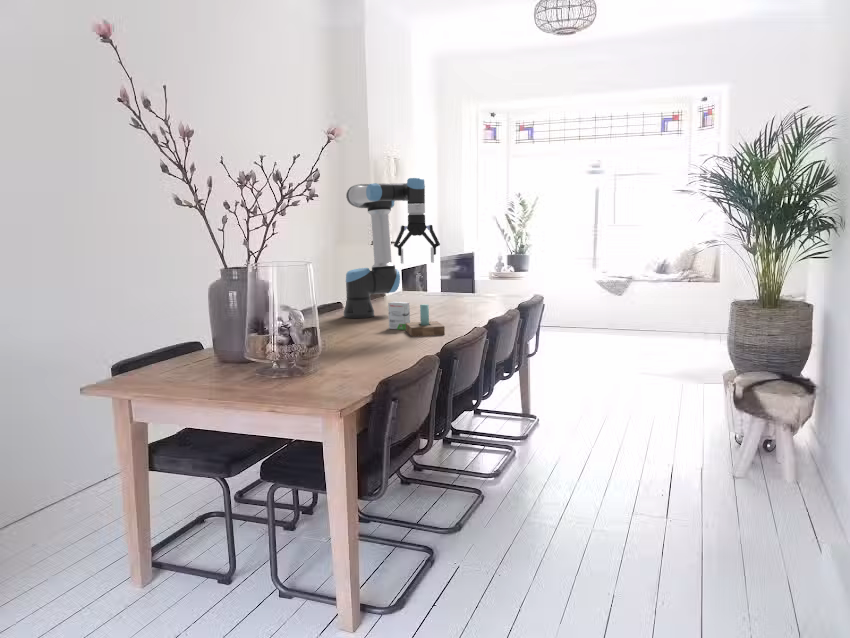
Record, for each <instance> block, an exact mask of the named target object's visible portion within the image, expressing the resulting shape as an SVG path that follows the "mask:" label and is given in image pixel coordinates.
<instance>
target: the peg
mask: <svg viewBox="0 0 850 638" xmlns="http://www.w3.org/2000/svg"><path fill="white" fill-rule="evenodd" d="M419 305H420V306H419V308H420V309H419V310H420V317H419V318H420V322H421V326H426V325H429V322H430V316H429V315H430V308H429V306H430V304H426V303H425V304H423V303H422V304H419Z"/></svg>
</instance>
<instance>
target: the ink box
mask: <svg viewBox="0 0 850 638" xmlns="http://www.w3.org/2000/svg"><path fill="white" fill-rule="evenodd" d="M387 307H388V309H387V311H388V328H389V329H390V330H401V331H402V330H404V331H406V323H411V313H410V312H411V311H410V302H408V301H407V302H405V301H391V302H388V305H387Z"/></svg>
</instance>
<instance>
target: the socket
mask: <svg viewBox="0 0 850 638" xmlns="http://www.w3.org/2000/svg"><path fill="white" fill-rule="evenodd" d="M445 328H446V327H445V326H444V325H443V324H442V323H441V322H439V321H438V320H435V321H434V320H433V321H429V325H426V326H421V321H416V322H415V321H414V322H410V323H406V330H405V332H407V334H408V335H410V337H425V336H426V337H428V336H443V335H445V331H446V329H445Z"/></svg>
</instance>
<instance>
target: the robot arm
mask: <svg viewBox="0 0 850 638" xmlns="http://www.w3.org/2000/svg"><path fill="white" fill-rule="evenodd" d="M425 187H426V184H425V179H424V178H423V177H410V178H407V180H406V182H405V183H404V182H403V183H398V182H397V183H392V182H391V183H378V182H375V183H361V184H359V183H358V184H354V185H352V186H350V187H349V188H348V189H347V191H346V194H345V195H346V200H347V202H348V204H349V205H351V206H352V207H355V208H358V209H367V213H368V214H369V215H370V219H371V231H372V245H373V247H372V249H373V262H374V263H373V265H372V266H371V269H370V268H368V267H362V268H360V267H359V268H354V269H350V270H349V271H347V272H346V274H345V284H346V285H345V286H346V287H345V289H346V292H345V293H346V303H345V307H344V309H343V317H344V318H346V319H347V318H348V319H366V318H367V319H368V318H372V317H374V316H375V310H374V307H373V304H372V300H371V295H379V294H392V293H395V292H396V291H398V289H399V286H400V284H401V275H400V270H398V269H397V268H396V265H395V264H394V263H393V262H392V249H391V237H390V233H391V232H390V220H389V219H390V218H389V214H390V213H391V211H392V208H393V207H394V206H395V201H396V202H397V201H399V202H401V201H402V202H407V226H406V225H401V226H400V230H399V232H398V235H397V238H396V239H395V241H394V244H393V247H395V248H396V249H397V255H398V256H400V264H401V265H402V264H404V248H403V246H404V245H405V244H406V242H407V241H408V240H409V239H410V238H411V236H419V237H421V236H423V237H424V239H425V240H426V241H427V242H428V244H430V245H431V247H430V263H432V264H433V263H435V256H436V254H437V247H440V245H441V243H440V240H439V239H438V237H437V236H436V233H435V231H434V227H433V225H432V224H429V225H426V215H425V213H426V204H425V203H426V200H425V199H426V195H425V193H426V192H425V191H426V188H425ZM426 229H427V230H428V231H429V233H430V235H431V237H432V239H433V240H432V239H431V237H430V236H429V235H428V234H427V233H426ZM406 230H407V231H408V233H407V234H406V235H405V236H404V238H403V239H402V237H403V235H404V232H405V231H406ZM401 239H402V241H401Z"/></svg>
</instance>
